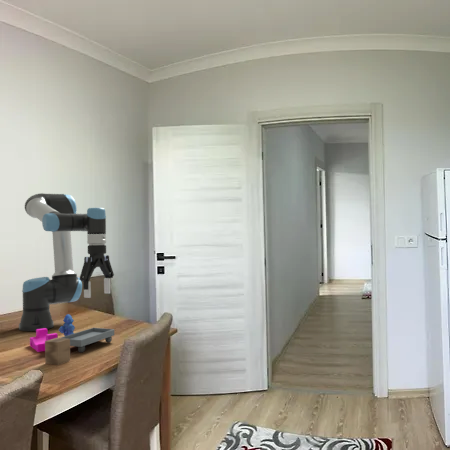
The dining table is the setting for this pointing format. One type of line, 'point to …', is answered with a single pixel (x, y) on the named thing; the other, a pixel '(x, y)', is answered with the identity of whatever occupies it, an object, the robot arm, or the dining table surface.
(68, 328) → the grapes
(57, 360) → the walnut block
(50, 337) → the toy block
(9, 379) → the dining table surface
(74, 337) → the cart
